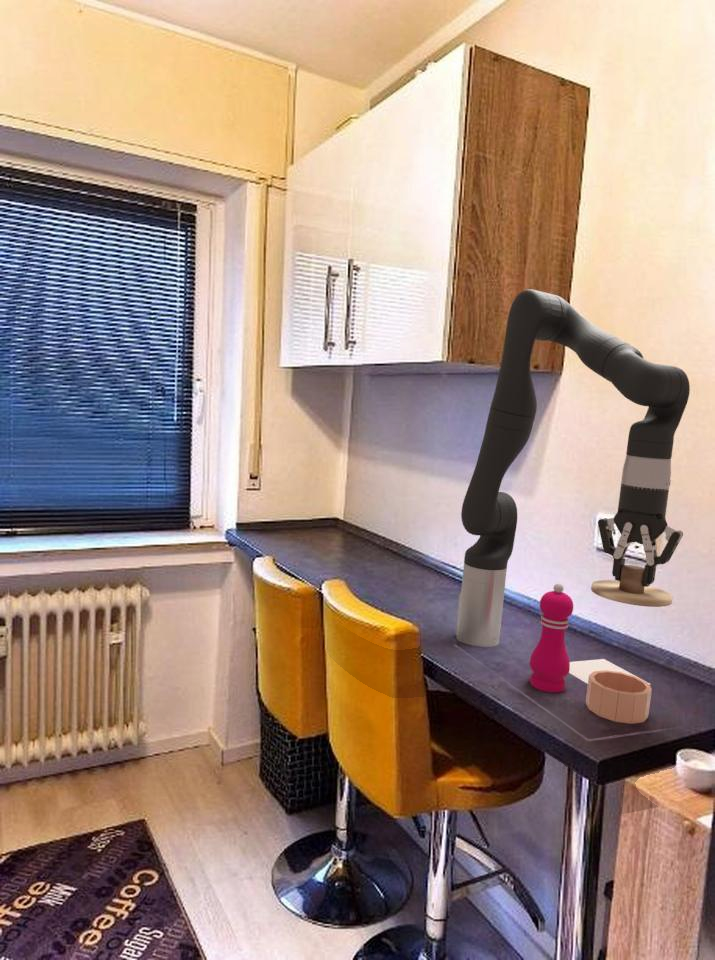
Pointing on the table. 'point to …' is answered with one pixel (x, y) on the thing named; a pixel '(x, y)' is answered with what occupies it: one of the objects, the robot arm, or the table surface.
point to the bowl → (618, 696)
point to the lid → (631, 589)
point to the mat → (593, 668)
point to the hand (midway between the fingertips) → (632, 582)
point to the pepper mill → (552, 642)
